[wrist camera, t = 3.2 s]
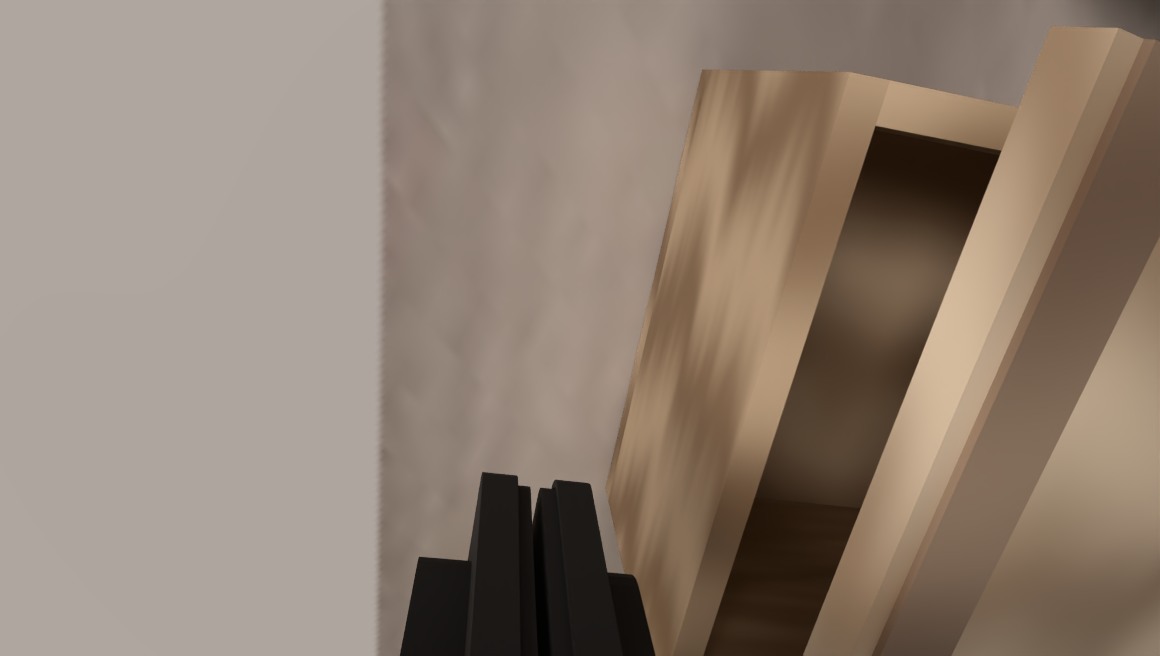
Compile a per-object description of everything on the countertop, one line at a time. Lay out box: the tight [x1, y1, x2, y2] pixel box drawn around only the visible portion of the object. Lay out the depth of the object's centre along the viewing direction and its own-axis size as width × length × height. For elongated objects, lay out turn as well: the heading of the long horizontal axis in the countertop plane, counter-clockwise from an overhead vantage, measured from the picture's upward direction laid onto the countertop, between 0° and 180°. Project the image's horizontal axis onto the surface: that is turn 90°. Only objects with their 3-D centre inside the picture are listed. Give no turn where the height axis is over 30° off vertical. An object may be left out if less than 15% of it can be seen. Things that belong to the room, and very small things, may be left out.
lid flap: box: [803, 26, 1160, 656], centre depth 13 cm, size 17×15×1 cm
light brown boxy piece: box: [606, 70, 1018, 656], centre depth 20 cm, size 16×13×10 cm
